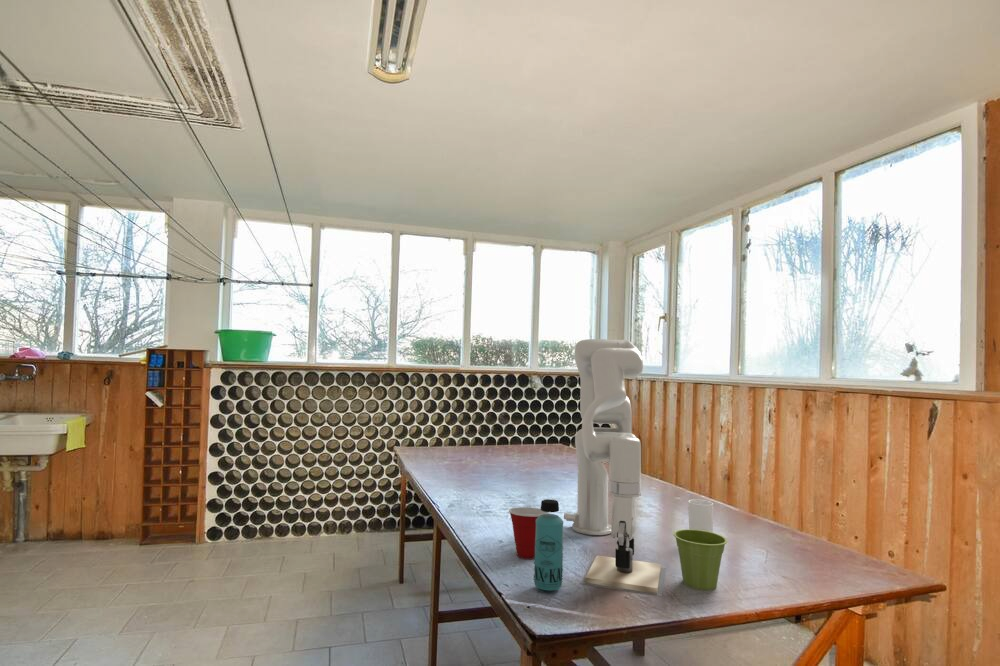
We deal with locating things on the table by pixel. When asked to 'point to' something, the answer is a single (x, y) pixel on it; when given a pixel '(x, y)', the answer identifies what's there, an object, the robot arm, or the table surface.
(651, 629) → the table surface
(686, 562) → the plant pot
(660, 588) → the mat
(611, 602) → the table surface
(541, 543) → the beverage bottle
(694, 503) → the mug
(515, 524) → the plastic cup
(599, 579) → the lid
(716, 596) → the table surface
